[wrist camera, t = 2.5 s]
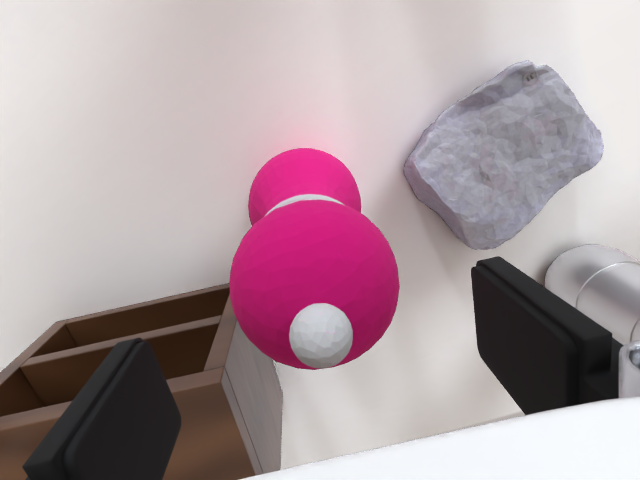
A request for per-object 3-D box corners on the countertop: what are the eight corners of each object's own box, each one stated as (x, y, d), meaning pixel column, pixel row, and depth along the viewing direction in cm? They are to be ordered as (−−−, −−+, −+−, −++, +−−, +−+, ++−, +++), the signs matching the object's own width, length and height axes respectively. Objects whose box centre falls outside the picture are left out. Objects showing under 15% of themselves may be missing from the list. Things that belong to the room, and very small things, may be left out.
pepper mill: (282, 251, 30) (264, 494, 11) (237, 169, 28) (118, 300, 9) (364, 212, 29) (494, 400, 11) (326, 125, 27) (404, 164, 8)
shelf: (56, 321, 31) (-87, 450, 19) (247, 278, 31) (220, 381, 19) (113, 431, 35) (25, 591, 23) (282, 393, 35) (278, 536, 23)
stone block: (383, 165, 30) (468, 253, 31) (391, 163, 25) (492, 267, 26) (499, 50, 28) (586, 146, 29) (531, 25, 23) (634, 141, 24)
